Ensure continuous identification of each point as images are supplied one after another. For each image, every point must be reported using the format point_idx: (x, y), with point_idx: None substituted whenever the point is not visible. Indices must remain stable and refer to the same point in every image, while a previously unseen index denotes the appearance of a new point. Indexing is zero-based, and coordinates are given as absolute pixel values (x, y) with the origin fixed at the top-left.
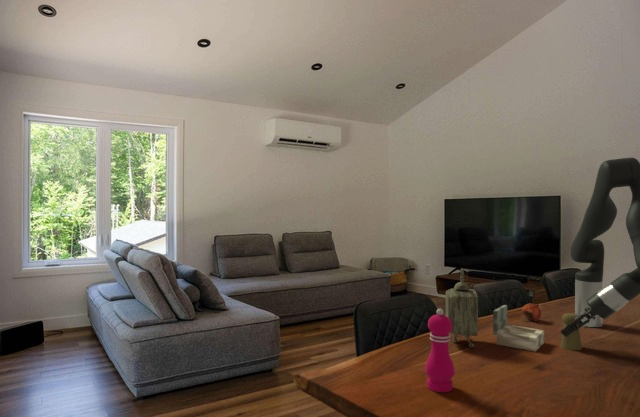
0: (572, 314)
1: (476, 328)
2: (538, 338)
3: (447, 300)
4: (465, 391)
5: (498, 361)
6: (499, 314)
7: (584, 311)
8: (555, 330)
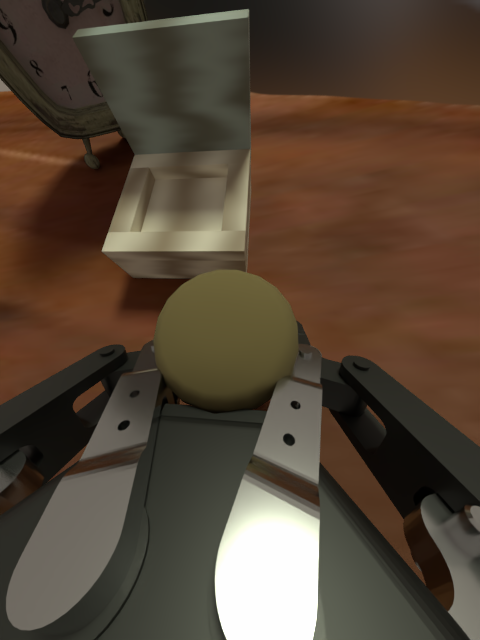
0: (194, 340)
1: (28, 106)
2: (150, 258)
3: None
4: None
5: (19, 231)
6: (126, 70)
7: (35, 561)
8: (458, 278)
